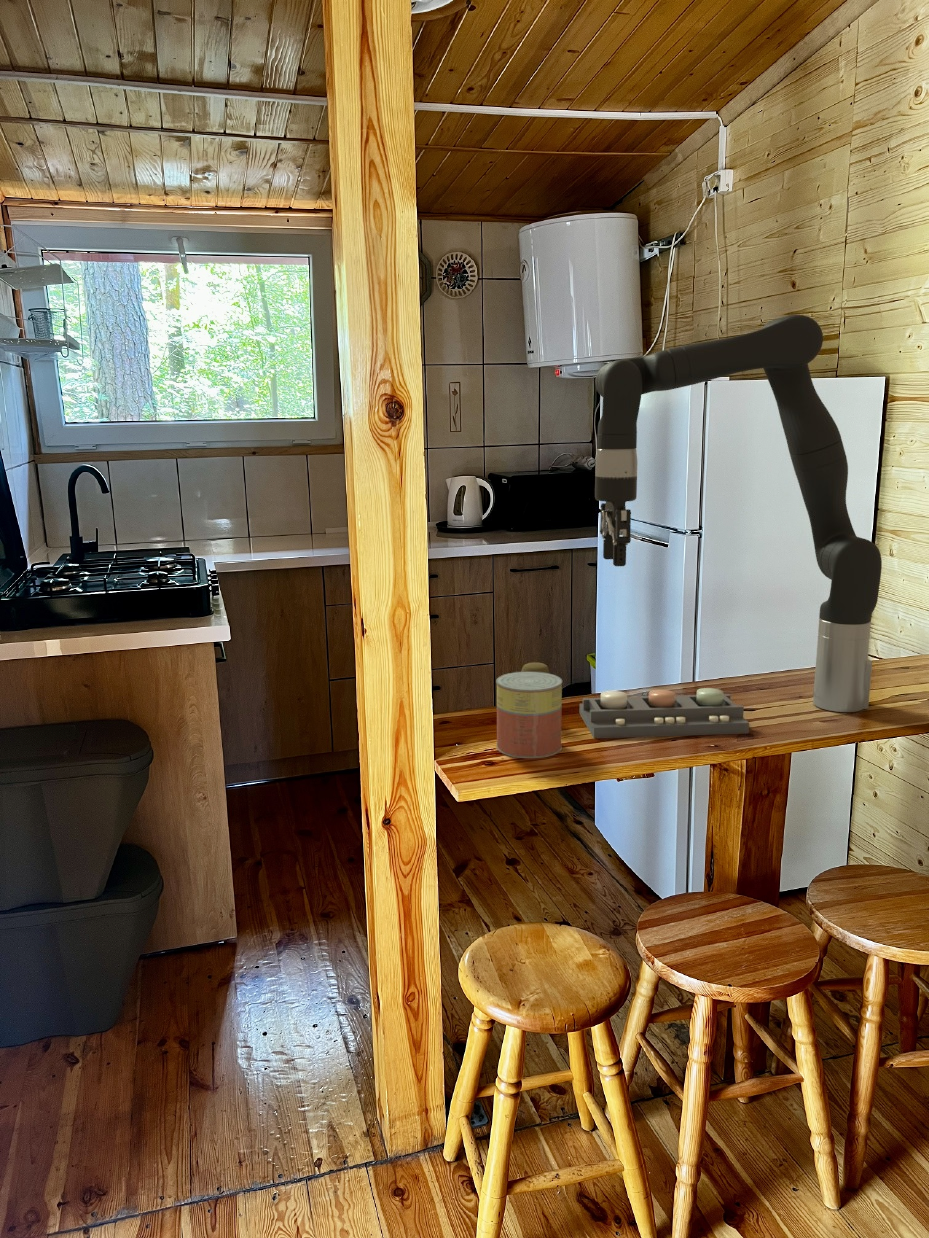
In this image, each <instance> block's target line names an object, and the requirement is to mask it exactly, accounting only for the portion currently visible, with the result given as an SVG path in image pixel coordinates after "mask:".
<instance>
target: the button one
mask: <svg viewBox="0 0 929 1238" xmlns="http://www.w3.org/2000/svg"><path fill="white" fill-rule="evenodd" d="M627 697H628V694H627V693H626V692H623V691H620V690H606V691H603V692H601V693H600V698H601V706H602V707H604V708H608V709H622V708H625V707H626V706H627Z"/></svg>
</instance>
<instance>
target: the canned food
mask: <svg viewBox="0 0 929 1238" xmlns="http://www.w3.org/2000/svg"><path fill="white" fill-rule="evenodd" d="M495 683H496V749H497V750H498V752H499V753H501V754H503V755H505V756H508V757H512V758H518V759H543V758H548V757H552V756H554V755H557V754H558V753H560V751H561V750H562V748H563V747H562V711H563V710H562V707H563V706H562V705H563V704H562V700H563V699H562V698H563V697H562V696H563V694H562V693H563V688H562V687H563V679H562V678H561V677H560V676H558V675H557V674H552V673H550V672H549V673H544V672H532V671H525V672H521V671H513V672H509V673H505V674H502V675H500V676H498V677H497V678H496V680H495Z"/></svg>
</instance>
